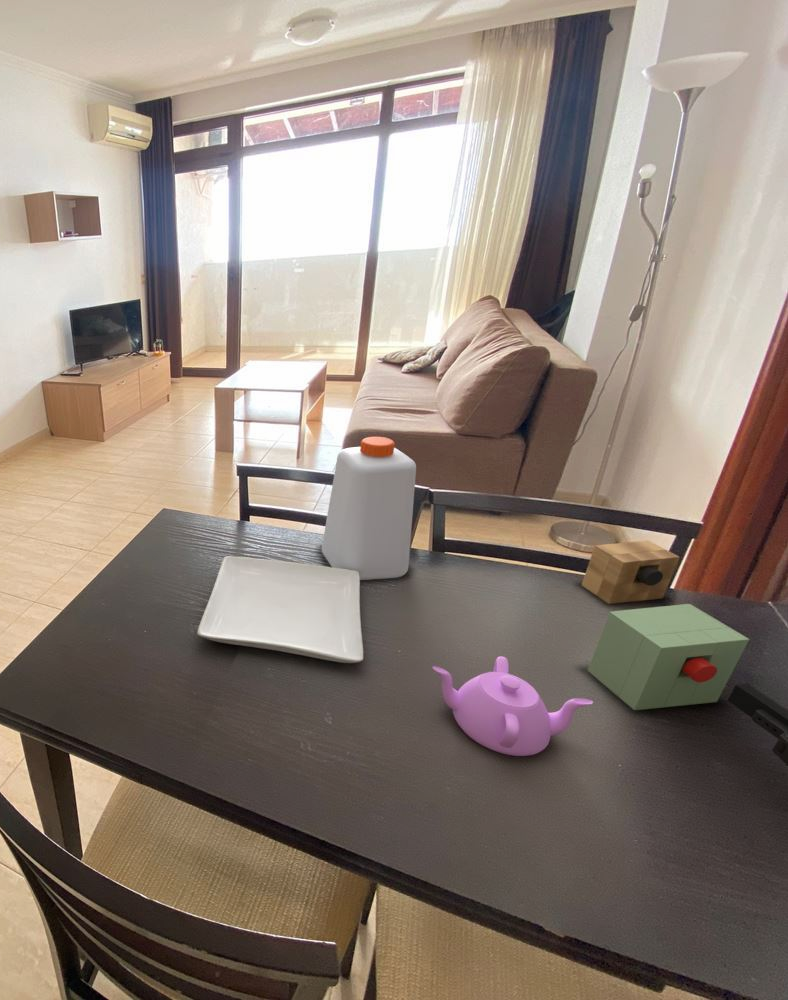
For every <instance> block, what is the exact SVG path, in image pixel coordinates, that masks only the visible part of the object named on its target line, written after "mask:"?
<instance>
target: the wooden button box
mask: <svg viewBox="0 0 788 1000" xmlns="http://www.w3.org/2000/svg"><path fill="white" fill-rule="evenodd" d="M680 559H681V557H680V556H679V555H677V554H675V553H673V552H672V551H669V550H668V549H665V548H664V547H662V546H660V545H659V544H656V543H654V542H652V541H650V540H648V539H647V540H638V541H637V540H636V541H628V542H618V543H607V544H606V543H605V544H596V545H594V548H593V550H592V553H591V556H590V559H589V561H588V565H587V568H586V571H585V573H584V577H583V579H582V583H581V586H582V587H583V588H584V589H586V590H588V591H589V592H590V593H592V594H594V595H595V596H596V597H598V598H599V599H601V600H602V601H604V602H605V603H606V604H609V605H610V604H618V603H620V604H621V603H631V602H641V601H650V600H651V601H652V600H661V599H663V598H664V596H665V594H666V591H667V589H668V586H669V585H670V582H671V579H672V578H673V575H674V572H675V570H676V568H677V566H678V563H679V561H680ZM646 567H653V568H655V569H657V570H658V571H660V572H662V574H663V578H662V580H661V581H660V582H659V583H657V584H655V585H653V586H648V585H646V584H644V583H643V582H641V581H639V580H638V578H637V575H638V573H639V572H640V571H641V570H642V569H643V568H646Z"/></svg>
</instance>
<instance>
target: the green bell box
mask: <svg viewBox="0 0 788 1000" xmlns="http://www.w3.org/2000/svg"><path fill="white" fill-rule="evenodd" d="M749 641H750V638H748V637H746V636H745V635H744V634H741V633H740V632H738V631H736V630H735V629H734V628H731V627H729V626H728V625H726V624H725V623H722V622H721V621H719V620H718V619H716V618H714V617H713V616H711V615H710V614H708V613H706V612H705V611H703V610H702V609H699V608H698V607H696V606H694V605H692V604H691V603H683V604H675V605H673V604H672V605H665V606H653V607H642V608H633V609H623V610H613V611H609V612H608V615H607V618H606V620H605V623H604V625H603V628H602V631H601V634H600V636H599V638H598V641H597V643H596V647H595V650H594V653H593V655H592V657H591V660H590V663H589V666H588V668H587V672H588V673H589V674H591V675H592V676H593V677H595V679H597V680H598V681H599V682H600V683H602V684H603V686H605V687H606V688H608V689H609V690H610V691H611V692H612V693H613V694H614V695H616V696H617V697H618V698H619V699H620V700H622V701H623V702H624V703H625V704H626V705H627V706H629V708H631V709H632V710H633V711H641V710H642V711H643V710H649V709H650V710H651V709H660V708H669V707H680V706H681V707H682V706H690V705H700V704H712V703H717V702H718V700H719V699H720V697H721V694H722V693H723V691H724V689H725V687H726V685H727V683H728V681H729V679H730V678H731V676H732V674H733V672H734V670H735V668H736V666H737V664H738V663H739V660H740V659H741V657H742V655H743V653H744V651H745V649H746V647H747V645H748V644H749ZM694 658H703V659H705V660H706V661H708V662H709V663H711V664H712V665H714V666H715V667H716V668H717V673H716V675H715V676H714V677H713V678H711V679H710V680H708V681H706V682H701V683H700V682H696V681H694V680H693V679H691V678H690V677H689V676H687V675H686V674H684V673H683V667H684V665H685V664H686V663H687V662H688V661H690V660H692V659H694Z"/></svg>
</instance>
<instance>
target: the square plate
mask: <svg viewBox="0 0 788 1000" xmlns="http://www.w3.org/2000/svg"><path fill="white" fill-rule="evenodd" d="M360 592H361V580H360V576H359V573H358V572H357V571H354V570H348V569H340V568H333V567H331V566H325V565H317V564H310V563H308V564H307V563H300V562H292V561H285V560H284V561H283V560H276V559H275V560H274V559H266V558H264V559H263V558H253V557H242V556H231V555H226V556H224V557H223V559H222V562H221V564H220V567H219V570H218V573H217V576H216V579H215V583H214V586H213V588H212V591H211V594H210V597H209V599H208V602H207V604H206V607H205V609H204V612H203V615H202V617H201V620H200V622H199V625H198V629H197V632H196V635H197V636H198V637H201V638H203V639H205V640H209V641H213V642H217V643H222V644H229V645H236V646H243V647H250V648H257V649H263V650H270V651H277V652H282V653H288V654H292V655H293V654H294V655H299V656H304V657H309V658H313V659H320V660H325V661H331V662H336V663H343V664H355V663H360V662H362V661H363V660H364V643H363V634H362V622H361V593H360Z"/></svg>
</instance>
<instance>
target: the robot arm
mask: <svg viewBox="0 0 788 1000" xmlns="http://www.w3.org/2000/svg"><path fill="white" fill-rule="evenodd" d="M727 702H729V703H730V704H732V706H734V707H736V708H737V709H739V710H740V711H741V712H743V713H744V714H746V715H747V716H749V717H750V719H751V720H752V721H753V722H754V723H755V724H757V725H758V726H760V727H761V728H762V729H763V730H765V731H766V732H768V733H769V734H771V735H772V736H773V737H774V738H776V739H777V741H776V743H775V745H774V746H773V748H772V752H773V753H774V755H776V756H777V757H778V758H779V759H780V760H781V762H783V763H784V764H785V765H786V766H787V767H788V708H787V707H785V706H782V705H781V704H780V703H778V702H776V701H775V700H773V699H771V698H770V697H769V696H767V695H766V694H764V693H762V692H761V691H760V690H758V689H756V688H755V687H754V686H752V685H750V684H749V683H738V684H737V683H736V684H735V685H734V687H733V688H732V691H731V693H730V695H729V697H728V699H727Z"/></svg>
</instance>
